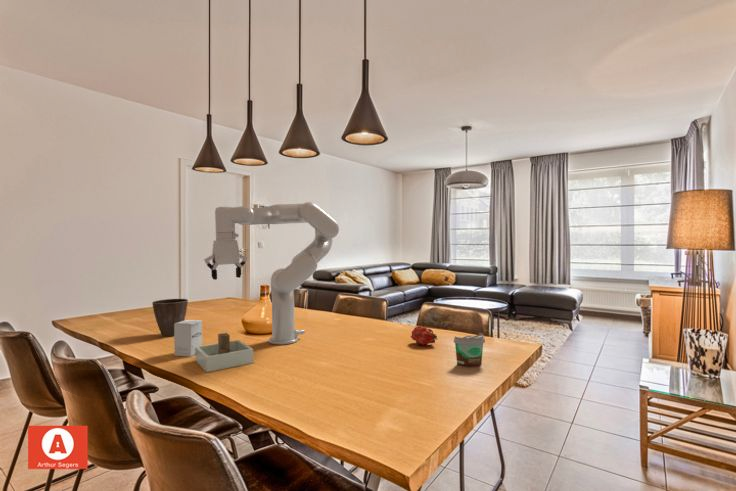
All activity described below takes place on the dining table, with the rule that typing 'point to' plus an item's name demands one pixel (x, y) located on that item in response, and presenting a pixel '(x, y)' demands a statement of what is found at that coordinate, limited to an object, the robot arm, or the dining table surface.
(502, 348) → the dining table surface
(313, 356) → the dining table surface
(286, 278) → the robot arm
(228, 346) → the walnut timber post
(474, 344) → the food container
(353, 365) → the dining table surface
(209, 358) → the pale green tray
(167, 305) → the plant pot
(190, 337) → the supplement box
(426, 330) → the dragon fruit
